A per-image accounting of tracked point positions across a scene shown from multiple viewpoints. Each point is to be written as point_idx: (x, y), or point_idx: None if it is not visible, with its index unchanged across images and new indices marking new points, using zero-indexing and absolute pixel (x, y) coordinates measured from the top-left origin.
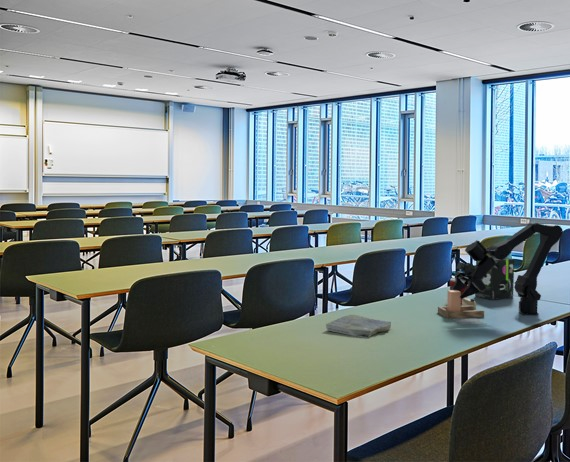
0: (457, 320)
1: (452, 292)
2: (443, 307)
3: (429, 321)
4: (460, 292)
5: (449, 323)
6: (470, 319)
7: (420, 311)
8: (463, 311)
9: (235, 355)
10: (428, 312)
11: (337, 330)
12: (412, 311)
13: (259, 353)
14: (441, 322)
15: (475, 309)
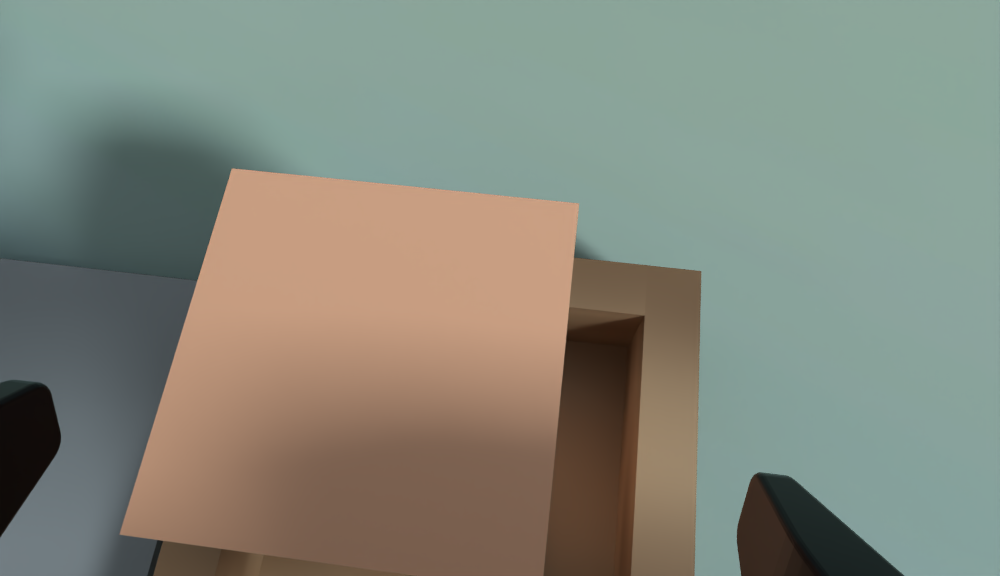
0: (101, 313)
1: (227, 205)
2: (643, 349)
3: (306, 25)
4: (137, 518)
5: (108, 186)
6: (49, 554)
7: (876, 160)
8: None
9: None
10: (794, 233)
11: None
12: (888, 68)
13: None
14: (200, 123)
15: None
